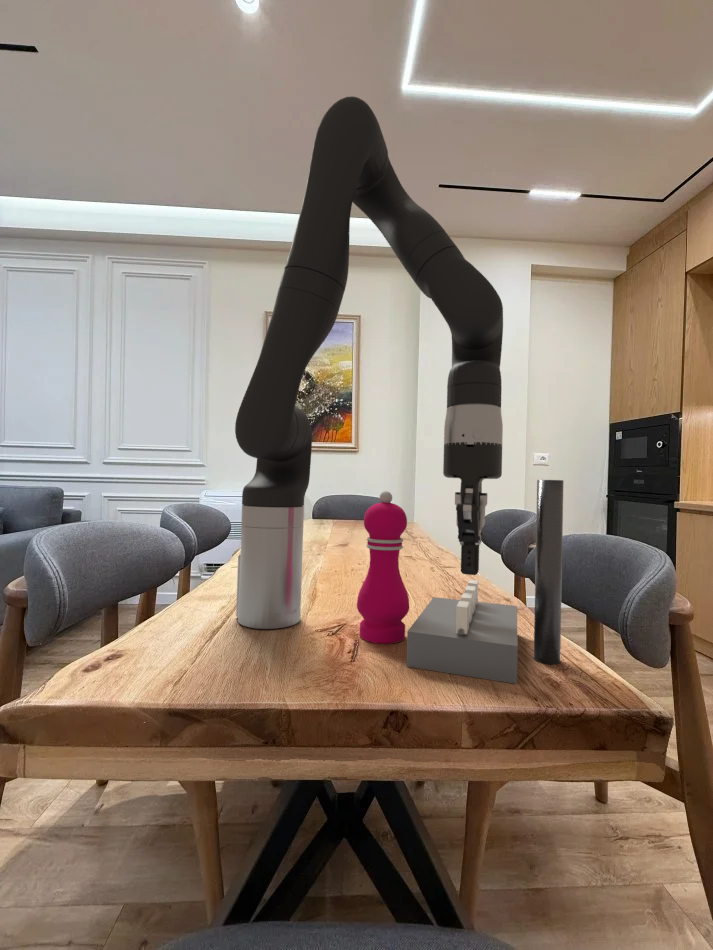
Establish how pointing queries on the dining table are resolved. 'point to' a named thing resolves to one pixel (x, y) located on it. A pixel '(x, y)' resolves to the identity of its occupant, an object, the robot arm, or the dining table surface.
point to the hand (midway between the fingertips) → (469, 573)
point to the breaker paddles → (466, 607)
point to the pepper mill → (383, 575)
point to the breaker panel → (465, 641)
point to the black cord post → (548, 571)
